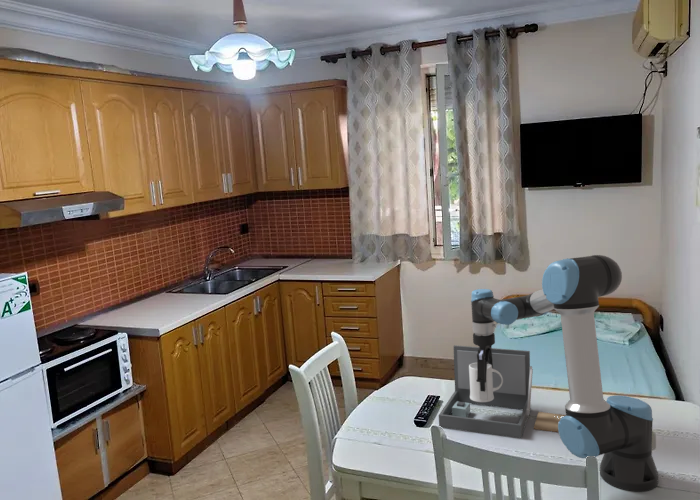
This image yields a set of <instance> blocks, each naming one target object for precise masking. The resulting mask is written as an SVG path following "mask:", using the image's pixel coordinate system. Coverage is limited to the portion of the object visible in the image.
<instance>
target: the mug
mask: <svg viewBox="0 0 700 500" xmlns="http://www.w3.org/2000/svg"><path fill="white" fill-rule="evenodd" d="M492 372H495V373H497V374H499V375H500V377H501V384H500V385H499V386H498V387H496V388H493V377H492ZM469 377H470V399H471V400H473V401H476V402H489V401H492V400H493V399H494V395H493V391H496V390H498V389H499V388H500V387H501V386H502V383H503V378H502V375H501V374H500V373H499V372H498V371H497V370H495V369H492V365H491V364H489V363H488V364H487V375H486V381H487V390H488V400H482V399H480V394H479V382H477V381H476V380H477V363H472V364H470V365H469Z"/></svg>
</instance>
